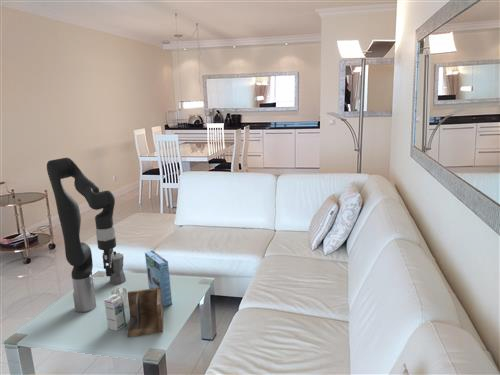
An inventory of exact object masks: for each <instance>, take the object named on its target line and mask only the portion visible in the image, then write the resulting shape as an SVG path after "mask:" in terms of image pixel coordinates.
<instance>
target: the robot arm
mask: <svg viewBox="0 0 500 375" xmlns="http://www.w3.org/2000/svg"><path fill="white" fill-rule="evenodd" d="M46 171H47V175H48V179H49V181H50V184H51V185H50V186H51V188H52V192H53V196H54V199H55V204H56V209H57V214H58V218H59V219H58V220H59V223H60V227H61V228H60V229H61V232H62V237H63V241H64V252H65V253H64V254H65V257H66V261H67V262H68V264H69V265H70V266H72V270H71V274H70V275H71V280H72V288H73V293H72V296H73V303H74V309H75V310H74V311H75V312H77V313H78V312H79V313H87V312H90V311H93V310H94V309H95V308H96V307H97V299H96V293H95V287H94V285H95V284H94V279H93V277H94V276H93V267H94V266H93V265H94V264H93V254H92V249H91V246H89V244H87V243H86V242H81V237H80V235H81V234H80V232H81V223H82V222H81V221H82V216H81V212H80V206H79V203H78V202H77V201H76V199H75V198H74V197H72V196H71V195H70V194H69V193H68V192H67V191H66V189H65V188H64V186H63V184H62V181H61V180H64V179H67V178H73V179H74V182H73V183H74V185H73V186H74V188H75V190H76V191H77V192H78V193H79V194H80V195H81V196H83V198H84V199H85V200H86V202H87V204H88V206H89V208H90V209H92V210H95V211H97V210H98V211H99V210H101V209H102V210H101V211H100V212H99V213H97V214H96V215H95V217H94V220H95V227H96V229H95V230H96V231H95V232H96V242H97V243H96V244H97V249H99V250H101V251H103V252H102V256H101V257H102V263H103V264H102V265H103V269H104V270H105V274H106V275H105V276H106V277H110V276H112V271H111V268H114V261H113V259H114V248H116V247H117V238H116V229H115V226H114V220H113V219H114V218H113V216H114V210H115V203H116V197H115V195H114V193H113V192H112V191H111V190H101V191H100V188H99V186H98V185H97V184H95V183H94V181H91V179H89V178H88V177H87V176H86V175H85V174H84V172H83V171H82V170H81V169H80V167H78V165H77V164H76V162H74V161H73V160H72V159H71V158H69V157H62V158H57V159H51V160H48V161H47V163H46ZM107 264H108V265H107Z"/></svg>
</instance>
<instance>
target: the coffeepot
mask: <svg viewBox="0 0 500 375" xmlns="http://www.w3.org/2000/svg"><path fill="white" fill-rule="evenodd" d="M113 251H114V250H113ZM113 261H114V268H111V271H112V276H109V284H110V285H112V286H113V285H114V286H115V285H116V286H117V285H121V284H123V283H125V282H126V281H127V279H126V276H125V271H124V268H123V267H124V253H121V252H117V251H114V259H113Z"/></svg>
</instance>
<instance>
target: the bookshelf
mask: <svg viewBox="0 0 500 375" xmlns="http://www.w3.org/2000/svg"><path fill="white" fill-rule="evenodd" d="M127 301H128V309H129V310H128V311H129V319H128V320H129V321H128V327H127V333H126V334H127V338H131V337H140V336H145V335H152V334H159V333H164V310H163V306H162V297H161V288H154V289H149V288H148V289H147V288H146V289H139V290H138V289H137V290H133V291H132V290H131V291H127Z"/></svg>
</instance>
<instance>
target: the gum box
mask: <svg viewBox="0 0 500 375" xmlns="http://www.w3.org/2000/svg"><path fill="white" fill-rule="evenodd" d="M144 254H145V256H144V257H145V264H146V273H147V284H148V289H154V288H161V297H162V308H163V307H166V306H171V305H172V304H173V299H172V297H173V296H172V290H171V289H172V288H171V279H170V271H169V261H168V260H166V259H165V258H164V257H162V256H161V255H159V254H158V253H157V252H156V251H155V250H151V251H150V250H149V251H146V252H144Z"/></svg>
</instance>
